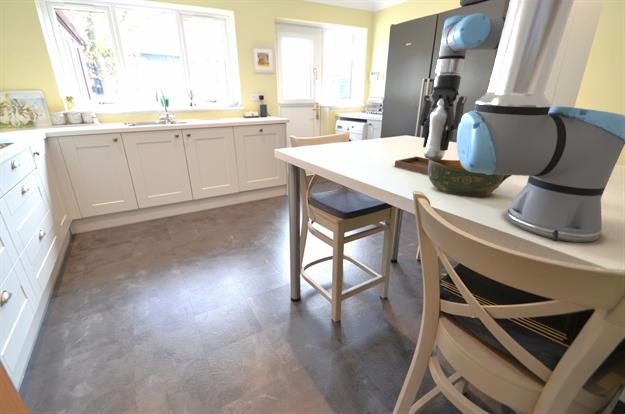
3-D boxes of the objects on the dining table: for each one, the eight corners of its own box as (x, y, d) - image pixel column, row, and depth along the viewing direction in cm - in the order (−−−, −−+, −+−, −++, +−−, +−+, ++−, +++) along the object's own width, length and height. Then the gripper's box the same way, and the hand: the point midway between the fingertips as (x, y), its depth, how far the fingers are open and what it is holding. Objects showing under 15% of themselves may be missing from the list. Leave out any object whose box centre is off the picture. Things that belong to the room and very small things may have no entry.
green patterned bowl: (502, 207, 68) (514, 166, 65) (421, 189, 81) (427, 154, 77) (511, 194, 78) (522, 158, 74) (436, 180, 90) (442, 148, 86)
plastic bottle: (445, 162, 96) (458, 99, 88) (424, 161, 97) (435, 98, 89) (440, 158, 102) (451, 98, 94) (421, 157, 103) (430, 98, 95)
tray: (450, 180, 89) (451, 173, 88) (394, 166, 105) (395, 160, 104) (470, 174, 97) (472, 167, 96) (415, 162, 113) (416, 156, 112)
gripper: (485, 74, 84) (468, 152, 93) (427, 76, 98) (417, 143, 107) (473, 73, 80) (456, 154, 89) (414, 75, 94) (405, 145, 103)
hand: (435, 148), depth 98 cm, fingers closed on plastic bottle, 6 cm apart
